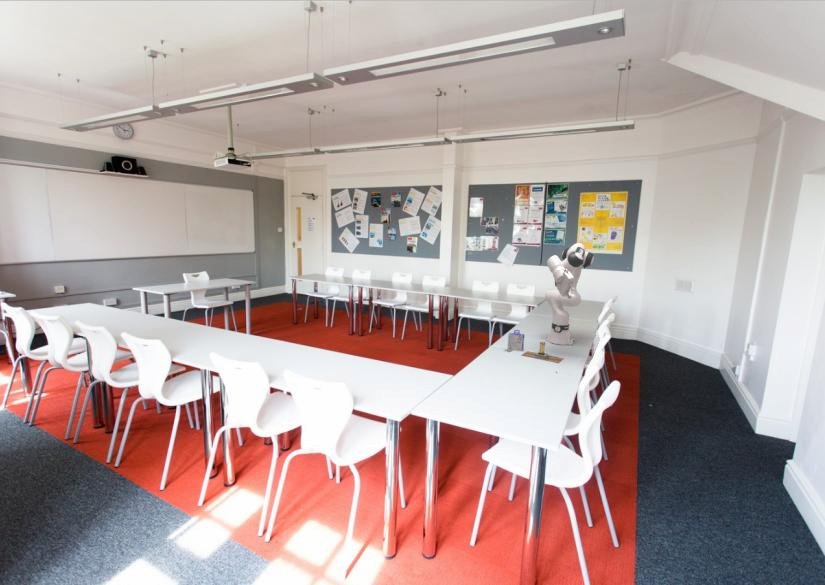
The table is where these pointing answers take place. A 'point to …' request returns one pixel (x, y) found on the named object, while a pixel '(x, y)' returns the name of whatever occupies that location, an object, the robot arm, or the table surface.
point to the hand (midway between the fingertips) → (571, 294)
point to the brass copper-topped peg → (542, 348)
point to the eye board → (543, 357)
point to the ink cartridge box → (515, 341)
